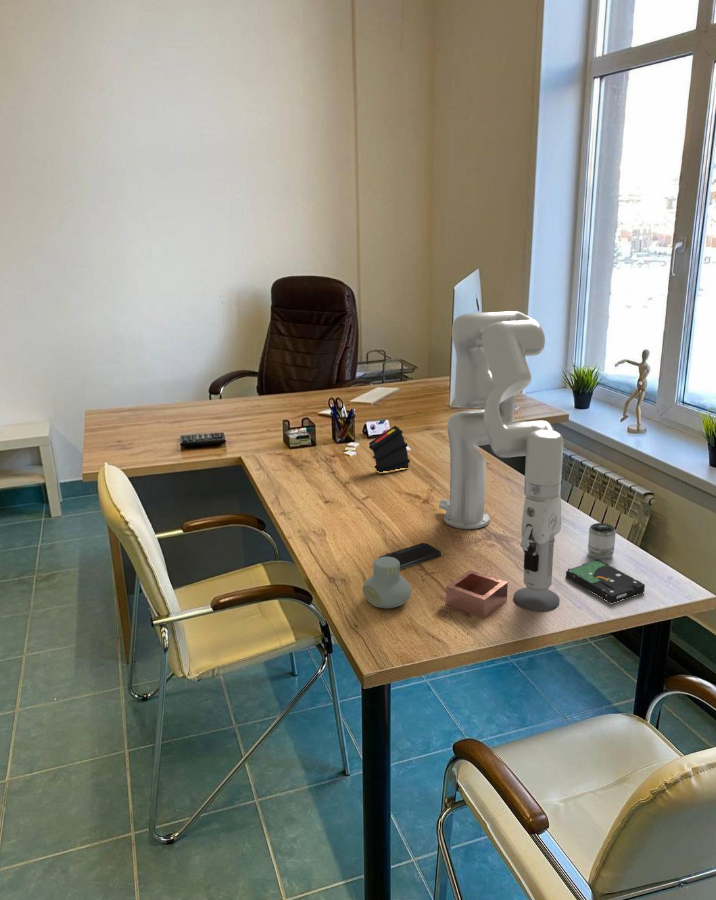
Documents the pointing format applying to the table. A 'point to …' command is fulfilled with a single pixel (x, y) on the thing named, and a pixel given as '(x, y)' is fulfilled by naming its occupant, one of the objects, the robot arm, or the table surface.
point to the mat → (536, 599)
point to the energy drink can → (541, 567)
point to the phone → (414, 555)
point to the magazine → (390, 450)
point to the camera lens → (601, 541)
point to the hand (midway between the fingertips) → (538, 563)
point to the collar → (473, 602)
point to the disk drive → (605, 581)
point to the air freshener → (386, 584)
